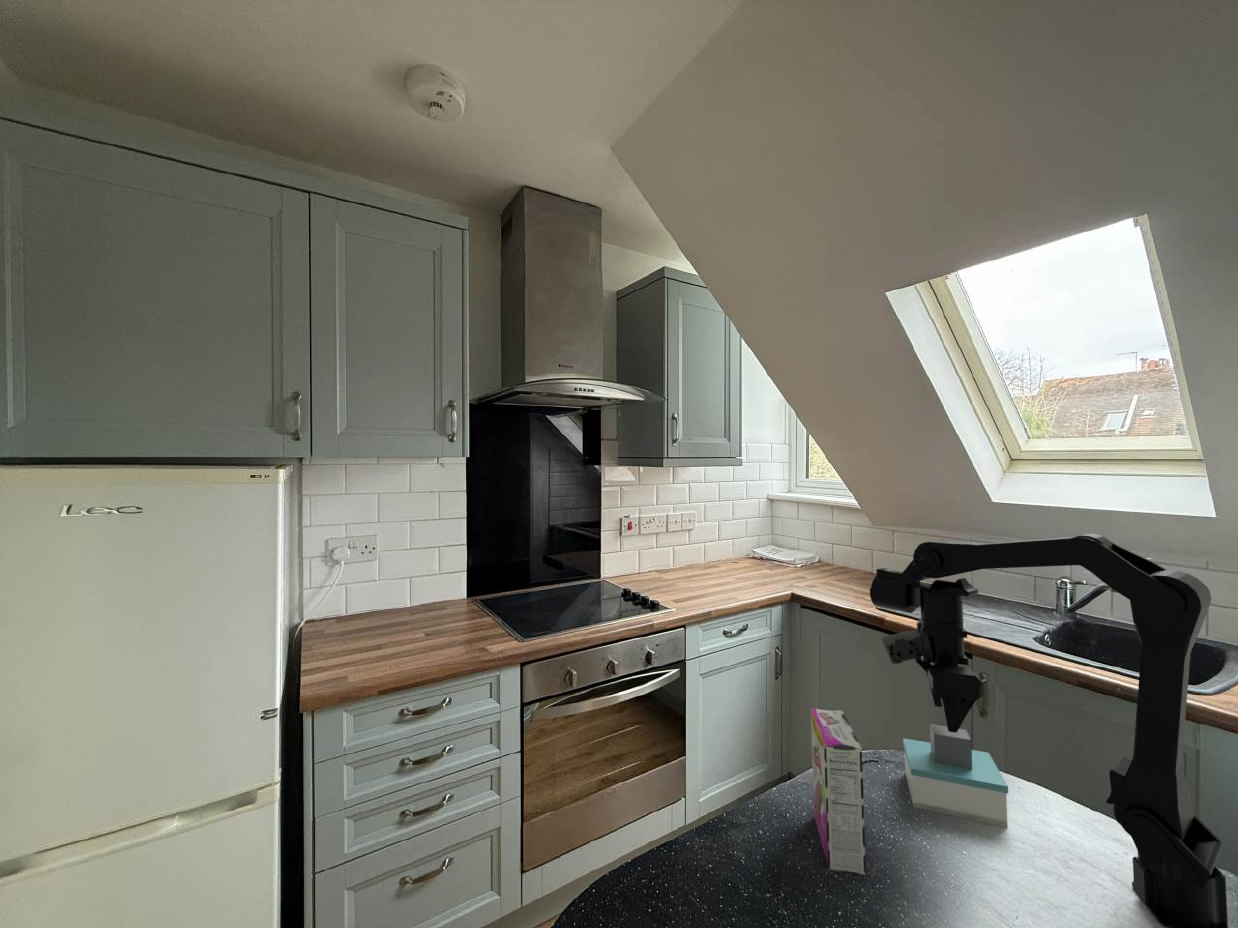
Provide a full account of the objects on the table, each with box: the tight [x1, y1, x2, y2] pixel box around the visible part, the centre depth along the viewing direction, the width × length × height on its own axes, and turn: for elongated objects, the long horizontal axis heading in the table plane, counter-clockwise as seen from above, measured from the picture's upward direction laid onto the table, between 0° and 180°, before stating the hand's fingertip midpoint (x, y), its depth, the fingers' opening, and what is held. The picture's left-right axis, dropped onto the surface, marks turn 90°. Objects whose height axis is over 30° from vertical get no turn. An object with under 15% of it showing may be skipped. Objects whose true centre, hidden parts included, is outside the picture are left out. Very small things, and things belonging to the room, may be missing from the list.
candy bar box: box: [809, 707, 867, 876], centre depth 71 cm, size 11×5×16 cm, turn 168°
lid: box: [902, 723, 1009, 794], centre depth 80 cm, size 12×10×6 cm
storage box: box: [904, 752, 1008, 828], centre depth 80 cm, size 12×10×5 cm
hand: (944, 718), depth 80 cm, fingers open, 9 cm apart
